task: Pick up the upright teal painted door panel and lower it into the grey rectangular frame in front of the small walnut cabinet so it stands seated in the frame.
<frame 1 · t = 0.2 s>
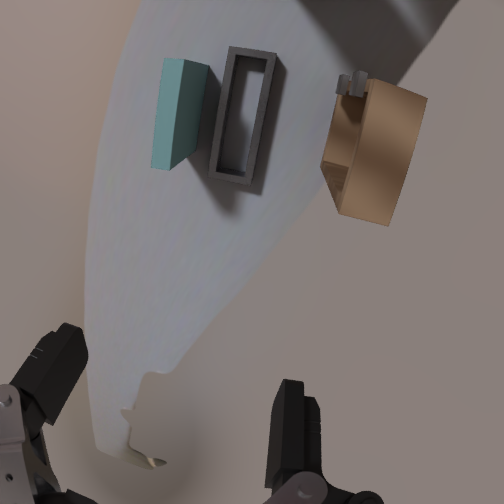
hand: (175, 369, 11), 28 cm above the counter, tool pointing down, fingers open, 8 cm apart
grey rectangular frame: (242, 114, 33), on the counter
door panel: (194, 107, 33), on the counter
cabinet: (348, 129, 32), on the counter
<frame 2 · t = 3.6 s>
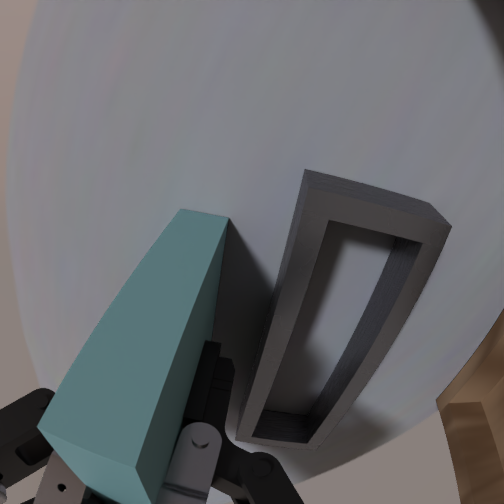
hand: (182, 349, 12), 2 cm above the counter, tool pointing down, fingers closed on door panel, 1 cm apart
grey rectangular frame: (315, 339, 14), on the counter
door panel: (194, 316, 14), on the counter, touching gripper
cabinet: (501, 346, 13), on the counter
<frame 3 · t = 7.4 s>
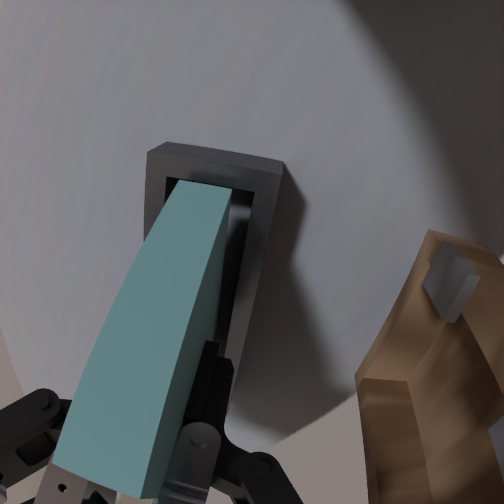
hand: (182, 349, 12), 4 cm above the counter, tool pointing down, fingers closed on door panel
grey rectangular frame: (204, 296, 16), on the counter
door panel: (200, 280, 14), point 1 cm above the counter, tilted 16°, touching gripper
cabinet: (419, 319, 15), on the counter
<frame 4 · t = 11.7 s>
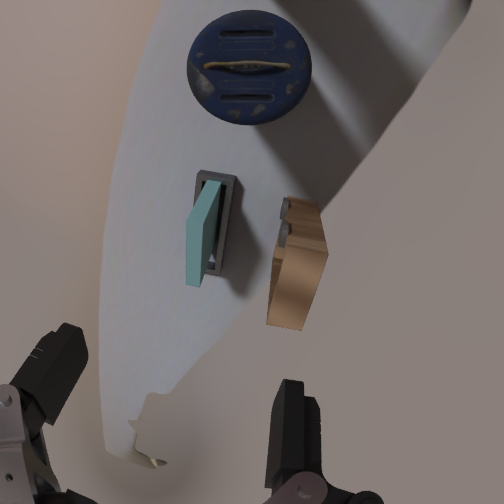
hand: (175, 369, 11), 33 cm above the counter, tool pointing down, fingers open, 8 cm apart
grey rectangular frame: (211, 222, 45), on the counter
door panel: (211, 212, 43), point 1 cm above the counter, tilted 12°, touching grey rectangular frame
canister: (263, 74, 35), on the counter
cabinet: (293, 232, 44), on the counter
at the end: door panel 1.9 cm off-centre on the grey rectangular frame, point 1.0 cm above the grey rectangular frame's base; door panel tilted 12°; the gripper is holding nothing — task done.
